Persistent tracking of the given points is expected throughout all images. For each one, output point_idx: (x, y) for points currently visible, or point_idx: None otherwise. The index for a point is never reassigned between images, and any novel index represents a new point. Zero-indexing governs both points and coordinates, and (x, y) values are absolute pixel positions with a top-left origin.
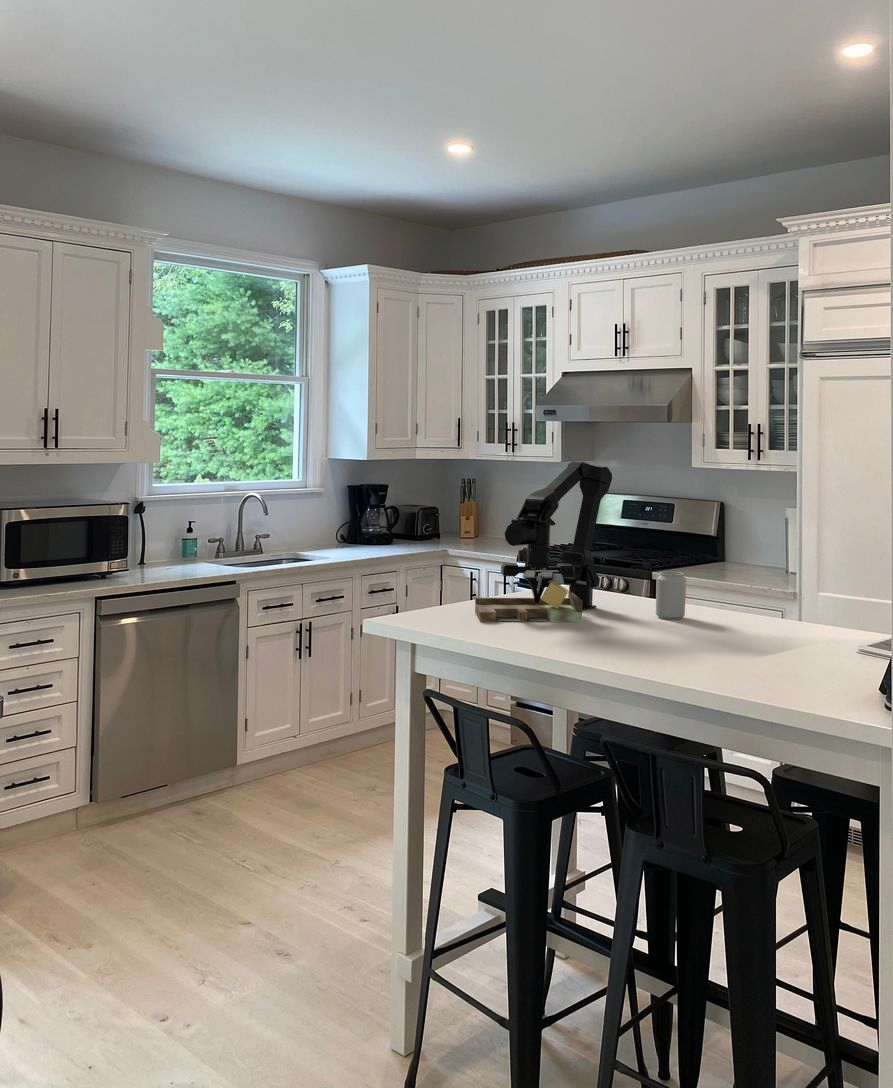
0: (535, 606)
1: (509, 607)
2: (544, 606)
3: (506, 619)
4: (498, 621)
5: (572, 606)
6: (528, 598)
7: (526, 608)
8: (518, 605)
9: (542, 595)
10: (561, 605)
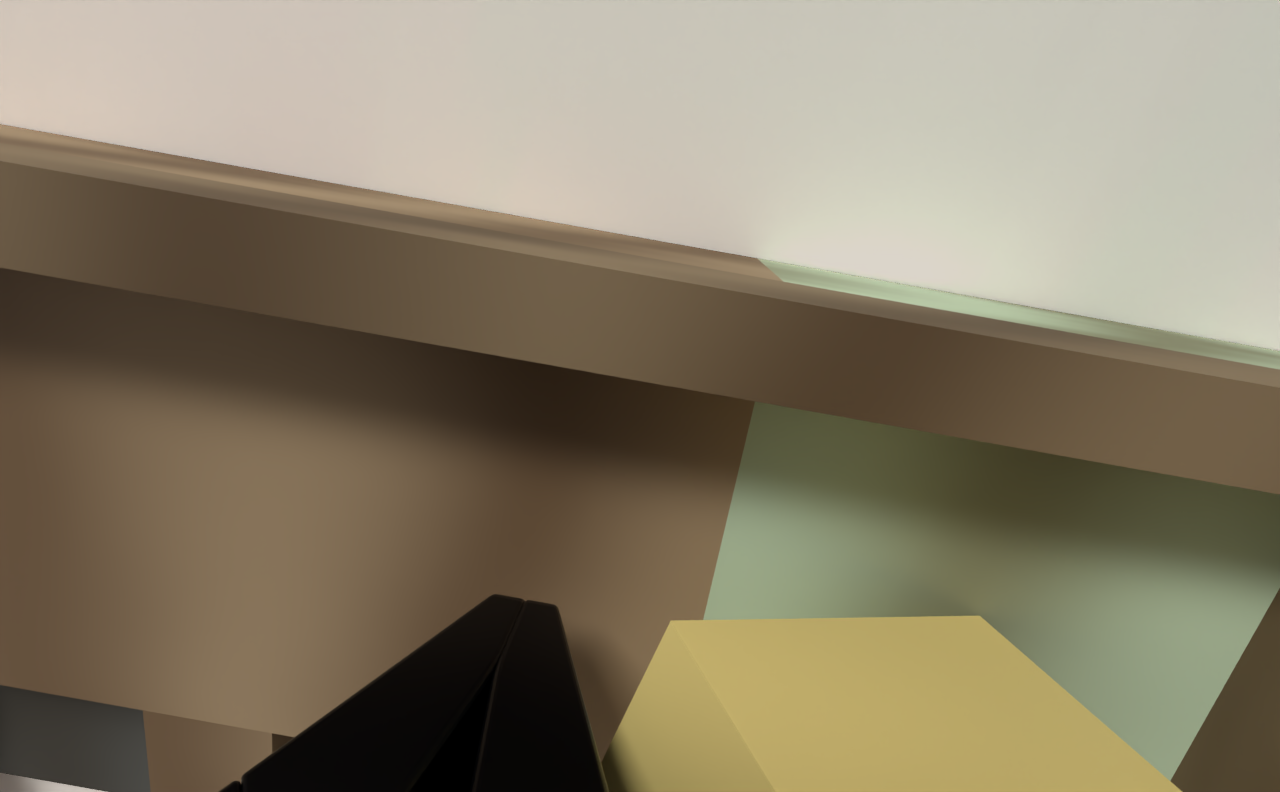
0: (515, 580)
1: (18, 590)
2: (688, 609)
3: (92, 722)
4: (1, 766)
5: (1197, 764)
6: (379, 330)
7: (308, 718)
8: (199, 429)
9: (646, 751)
10: (1082, 572)
